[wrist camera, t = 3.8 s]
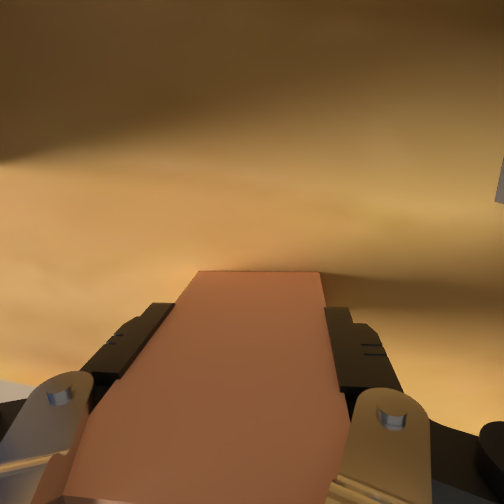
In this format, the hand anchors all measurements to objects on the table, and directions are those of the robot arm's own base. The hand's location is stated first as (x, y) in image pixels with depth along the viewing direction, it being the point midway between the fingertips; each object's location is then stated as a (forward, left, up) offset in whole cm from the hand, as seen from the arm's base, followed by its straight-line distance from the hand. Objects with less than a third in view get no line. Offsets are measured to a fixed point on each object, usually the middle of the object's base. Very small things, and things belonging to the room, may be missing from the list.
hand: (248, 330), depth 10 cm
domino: (0, 0, -3) cm, 3 cm away
